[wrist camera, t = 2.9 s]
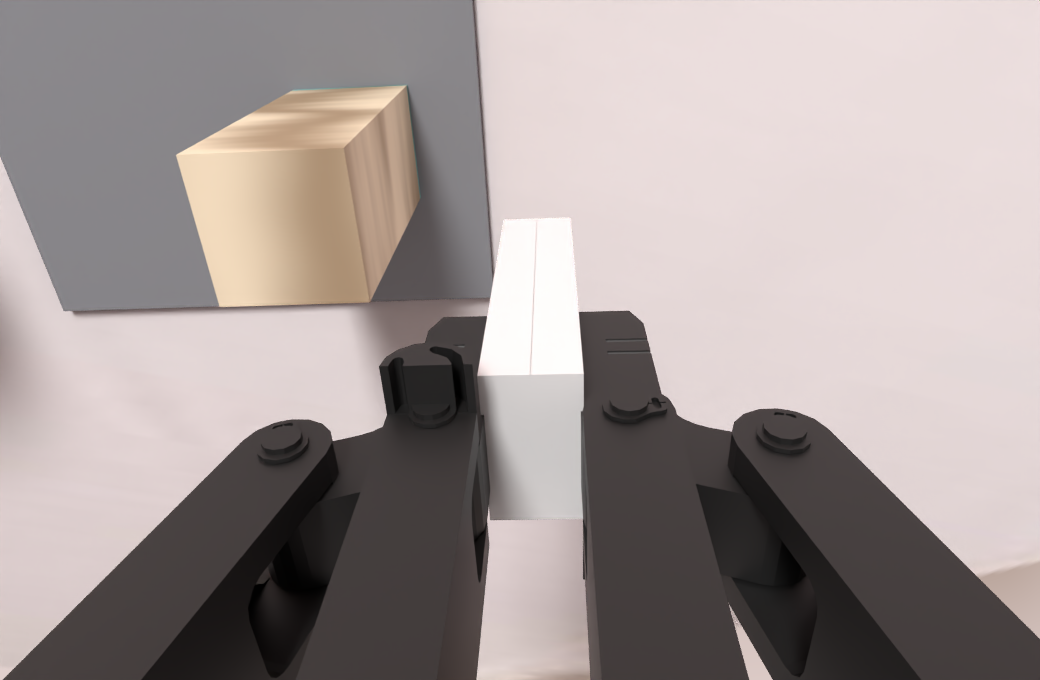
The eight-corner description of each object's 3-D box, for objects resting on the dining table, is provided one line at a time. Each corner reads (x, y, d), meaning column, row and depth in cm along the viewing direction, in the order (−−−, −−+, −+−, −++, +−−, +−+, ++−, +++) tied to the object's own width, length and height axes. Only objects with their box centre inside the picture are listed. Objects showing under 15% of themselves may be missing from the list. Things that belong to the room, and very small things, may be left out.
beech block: (315, 201, 29) (219, 307, 21) (293, 89, 27) (175, 155, 18) (420, 197, 29) (369, 302, 20) (407, 84, 27) (343, 147, 18)
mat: (68, 307, 32) (63, 311, 32) (-122, -163, 24) (-132, -165, 23) (493, 293, 32) (493, 297, 31) (458, -201, 23) (457, -203, 22)
